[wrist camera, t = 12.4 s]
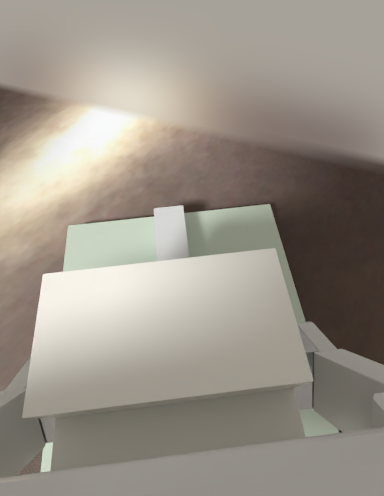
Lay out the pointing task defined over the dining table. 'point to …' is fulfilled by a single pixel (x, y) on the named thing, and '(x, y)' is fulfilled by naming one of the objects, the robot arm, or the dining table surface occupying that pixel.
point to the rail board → (183, 256)
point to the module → (166, 358)
